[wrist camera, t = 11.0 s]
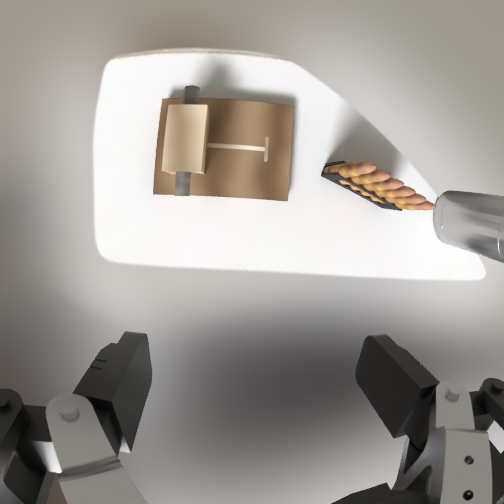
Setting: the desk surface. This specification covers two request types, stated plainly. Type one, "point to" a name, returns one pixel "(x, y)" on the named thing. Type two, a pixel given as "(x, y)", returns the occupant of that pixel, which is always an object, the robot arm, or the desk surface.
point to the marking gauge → (186, 140)
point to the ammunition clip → (375, 185)
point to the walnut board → (237, 151)
